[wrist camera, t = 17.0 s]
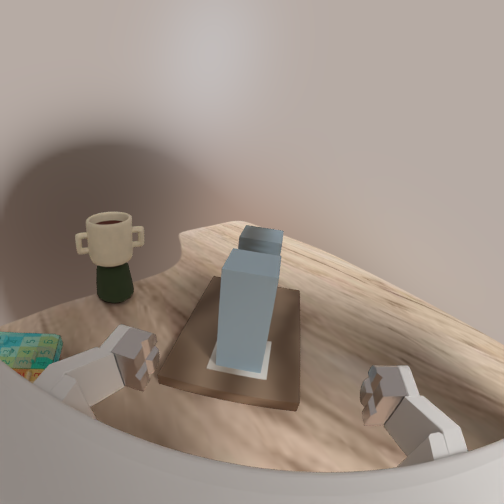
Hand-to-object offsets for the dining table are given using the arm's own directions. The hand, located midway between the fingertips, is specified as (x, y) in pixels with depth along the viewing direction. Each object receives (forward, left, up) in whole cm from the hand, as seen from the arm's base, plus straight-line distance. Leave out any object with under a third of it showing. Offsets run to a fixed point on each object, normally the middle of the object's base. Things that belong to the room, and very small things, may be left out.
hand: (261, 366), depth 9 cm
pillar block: (+2, -17, -16) cm, 23 cm away
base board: (+3, -23, -17) cm, 29 cm away
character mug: (+24, -25, -17) cm, 39 cm away
